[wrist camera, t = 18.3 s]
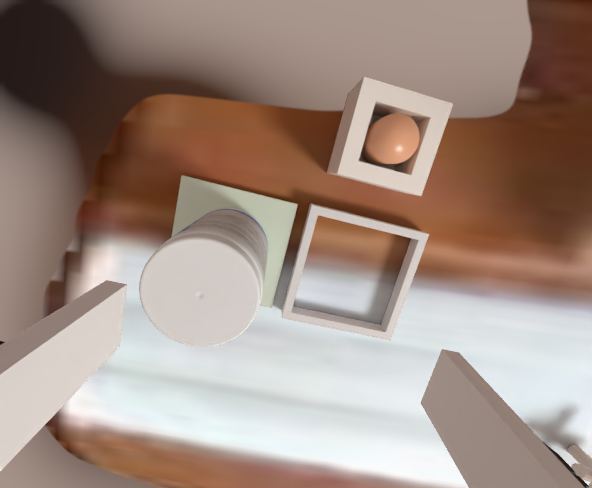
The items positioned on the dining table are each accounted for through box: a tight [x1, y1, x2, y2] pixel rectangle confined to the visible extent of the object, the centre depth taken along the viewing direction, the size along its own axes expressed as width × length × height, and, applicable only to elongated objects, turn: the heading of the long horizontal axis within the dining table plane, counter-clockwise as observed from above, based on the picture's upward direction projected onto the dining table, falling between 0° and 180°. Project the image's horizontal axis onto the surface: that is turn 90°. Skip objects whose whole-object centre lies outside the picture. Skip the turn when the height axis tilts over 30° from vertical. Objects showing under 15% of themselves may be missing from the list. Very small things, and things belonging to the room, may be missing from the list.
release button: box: [361, 113, 419, 164], centre depth 31 cm, size 5×5×5 cm
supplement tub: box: [139, 208, 268, 347], centre depth 30 cm, size 10×10×15 cm
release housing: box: [327, 77, 453, 196], centre depth 32 cm, size 9×9×7 cm
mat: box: [172, 175, 298, 308], centre depth 38 cm, size 14×14×1 cm
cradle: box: [282, 203, 429, 340], centre depth 39 cm, size 15×15×2 cm
